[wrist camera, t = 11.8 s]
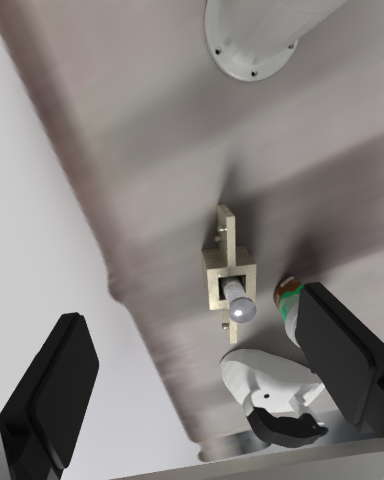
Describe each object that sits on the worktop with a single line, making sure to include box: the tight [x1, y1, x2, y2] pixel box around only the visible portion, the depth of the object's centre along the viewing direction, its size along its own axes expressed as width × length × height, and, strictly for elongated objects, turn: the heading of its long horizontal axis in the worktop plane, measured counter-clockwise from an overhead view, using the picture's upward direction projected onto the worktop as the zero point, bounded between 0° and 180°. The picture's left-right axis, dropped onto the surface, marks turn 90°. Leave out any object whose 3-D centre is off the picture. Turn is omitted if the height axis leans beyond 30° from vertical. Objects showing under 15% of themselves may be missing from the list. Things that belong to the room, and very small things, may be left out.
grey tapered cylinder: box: [219, 275, 256, 323], centre depth 39 cm, size 4×4×13 cm
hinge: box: [201, 204, 256, 344], centre depth 41 cm, size 24×8×7 cm, turn 5°
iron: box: [221, 349, 325, 448], centre depth 50 cm, size 11×24×15 cm, turn 64°
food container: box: [273, 274, 303, 347], centre depth 44 cm, size 12×6×10 cm, turn 25°
